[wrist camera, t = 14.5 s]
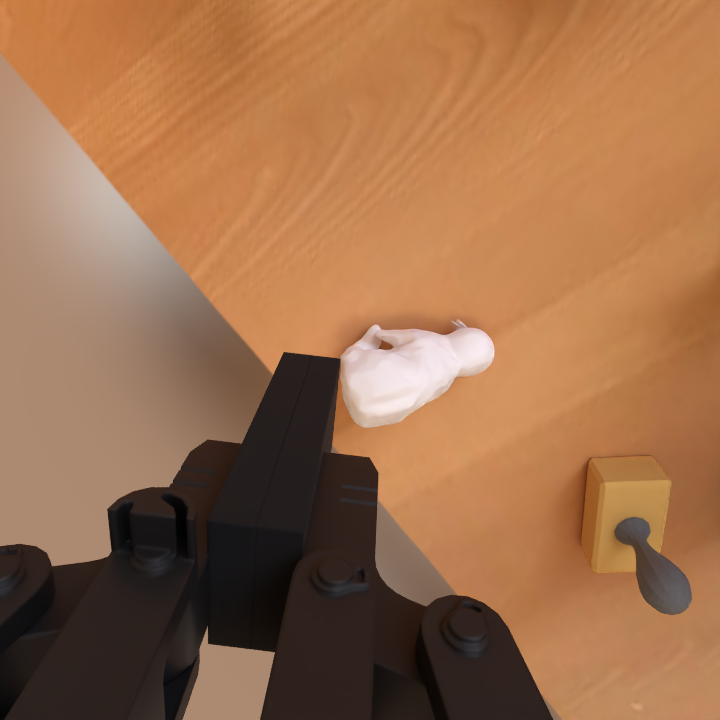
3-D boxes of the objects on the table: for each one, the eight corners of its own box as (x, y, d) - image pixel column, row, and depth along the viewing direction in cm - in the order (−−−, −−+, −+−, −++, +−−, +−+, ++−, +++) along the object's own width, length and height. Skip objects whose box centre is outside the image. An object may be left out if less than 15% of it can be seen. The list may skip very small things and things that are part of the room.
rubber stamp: (641, 543, 53) (707, 655, 42) (579, 545, 53) (627, 656, 42) (655, 455, 49) (730, 554, 38) (587, 458, 49) (642, 556, 38)
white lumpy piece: (331, 373, 37) (506, 331, 37) (332, 331, 45) (476, 295, 45) (354, 451, 40) (519, 412, 39) (351, 397, 48) (488, 365, 47)
